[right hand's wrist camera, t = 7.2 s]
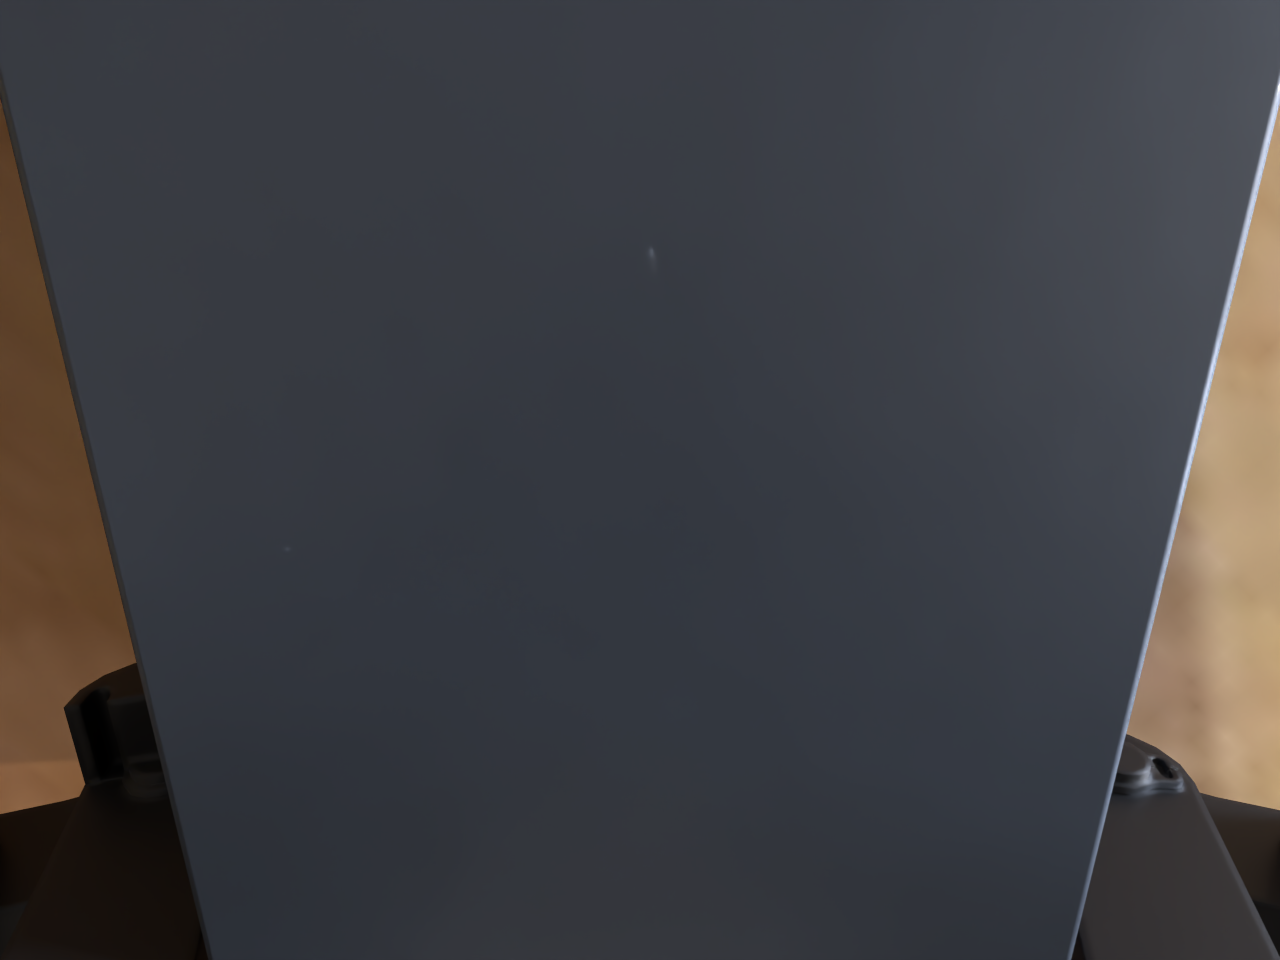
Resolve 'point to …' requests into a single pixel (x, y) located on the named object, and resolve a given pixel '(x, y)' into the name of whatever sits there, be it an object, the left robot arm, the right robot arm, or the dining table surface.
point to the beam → (640, 446)
